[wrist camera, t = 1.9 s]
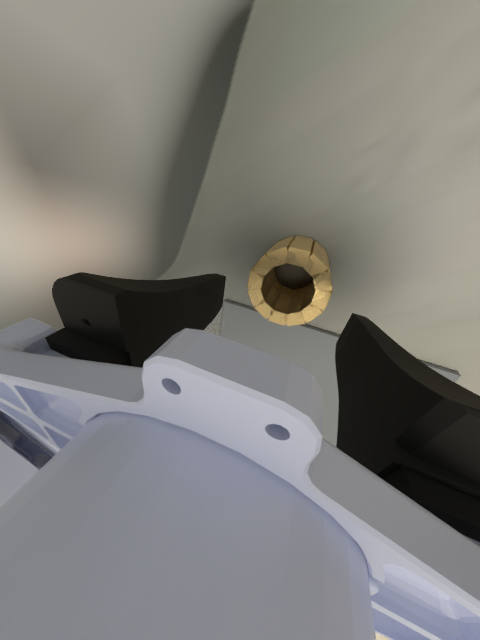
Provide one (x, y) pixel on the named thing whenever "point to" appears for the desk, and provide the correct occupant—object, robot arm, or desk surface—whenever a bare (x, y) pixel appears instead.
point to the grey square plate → (297, 352)
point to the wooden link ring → (285, 301)
